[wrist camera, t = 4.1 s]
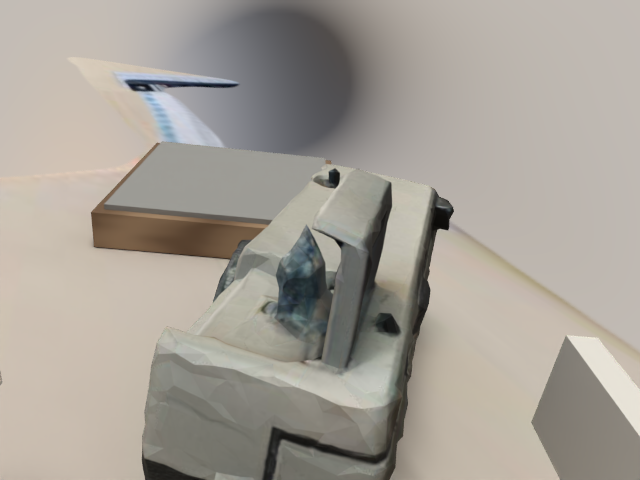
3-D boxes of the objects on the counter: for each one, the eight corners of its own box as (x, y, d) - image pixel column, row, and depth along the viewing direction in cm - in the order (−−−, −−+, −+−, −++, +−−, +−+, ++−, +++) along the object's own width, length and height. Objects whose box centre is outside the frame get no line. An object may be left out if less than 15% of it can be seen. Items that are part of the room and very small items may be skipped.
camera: (282, 281, 27) (301, 83, 22) (426, 320, 25) (478, 114, 21) (72, 544, 14) (18, 188, 9) (346, 664, 12) (441, 298, 7)
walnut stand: (94, 246, 27) (90, 206, 26) (157, 168, 39) (156, 138, 38) (336, 268, 28) (341, 230, 27) (327, 185, 40) (331, 156, 39)
